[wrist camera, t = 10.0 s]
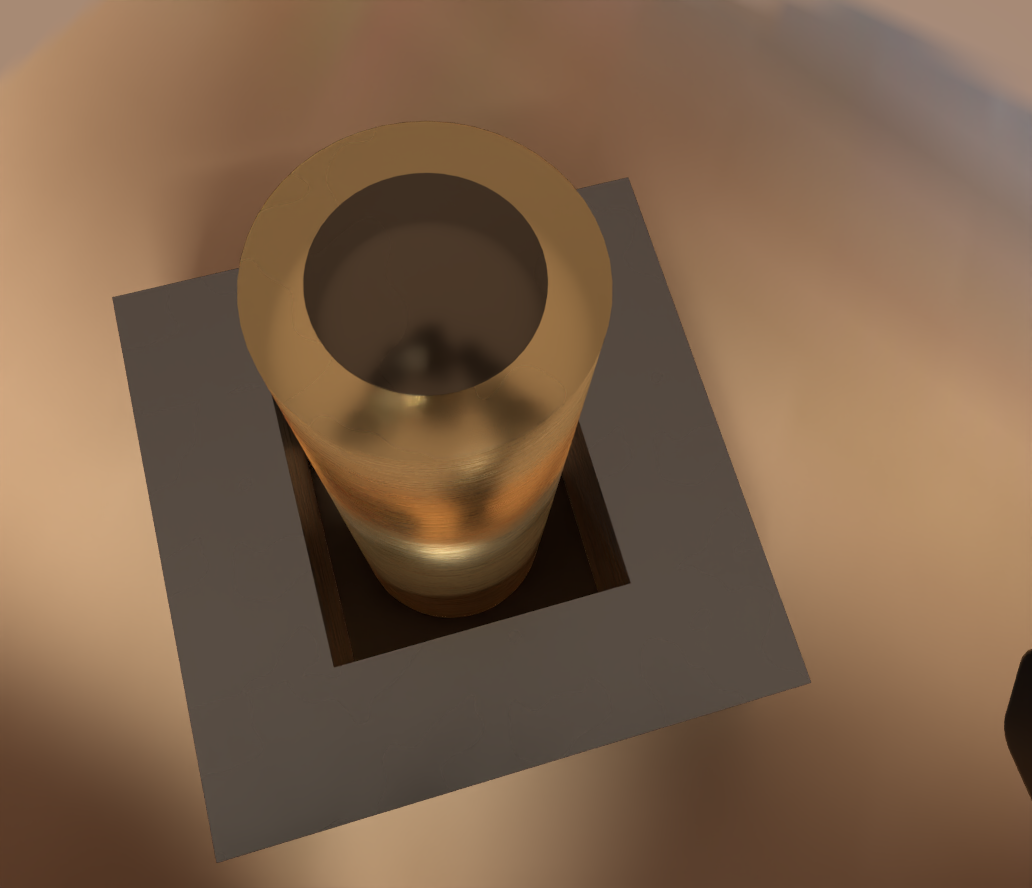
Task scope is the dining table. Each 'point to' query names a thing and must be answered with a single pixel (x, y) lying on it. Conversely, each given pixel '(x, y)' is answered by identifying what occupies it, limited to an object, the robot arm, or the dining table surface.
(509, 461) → the bushing
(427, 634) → the dining table surface
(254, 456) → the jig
